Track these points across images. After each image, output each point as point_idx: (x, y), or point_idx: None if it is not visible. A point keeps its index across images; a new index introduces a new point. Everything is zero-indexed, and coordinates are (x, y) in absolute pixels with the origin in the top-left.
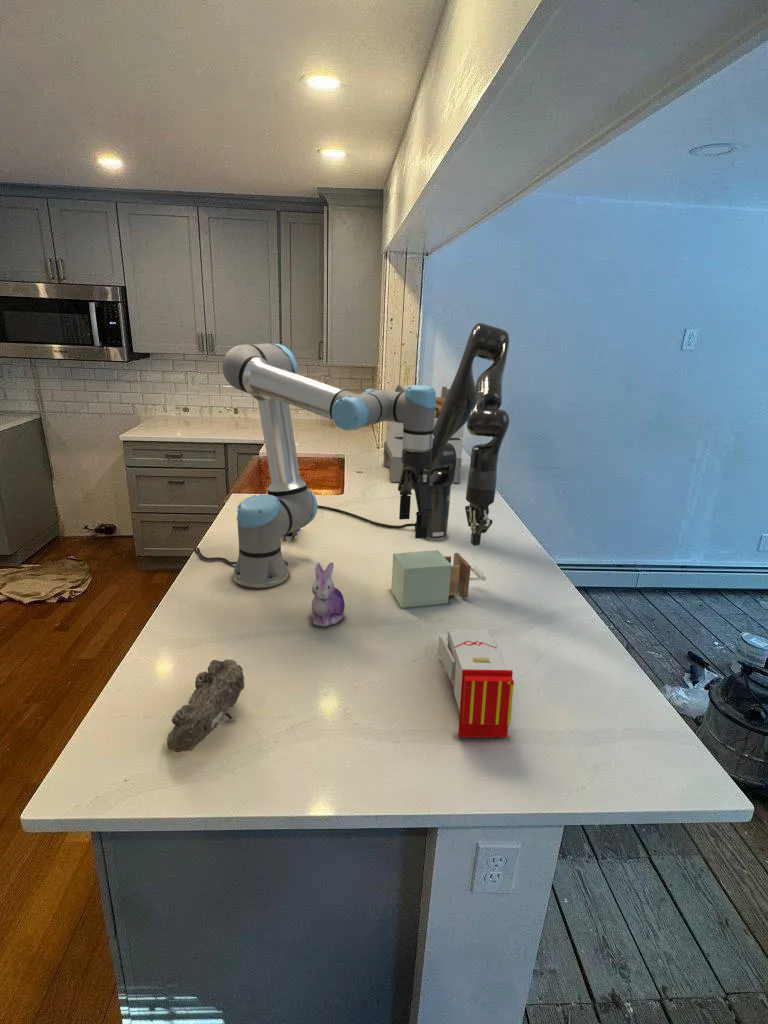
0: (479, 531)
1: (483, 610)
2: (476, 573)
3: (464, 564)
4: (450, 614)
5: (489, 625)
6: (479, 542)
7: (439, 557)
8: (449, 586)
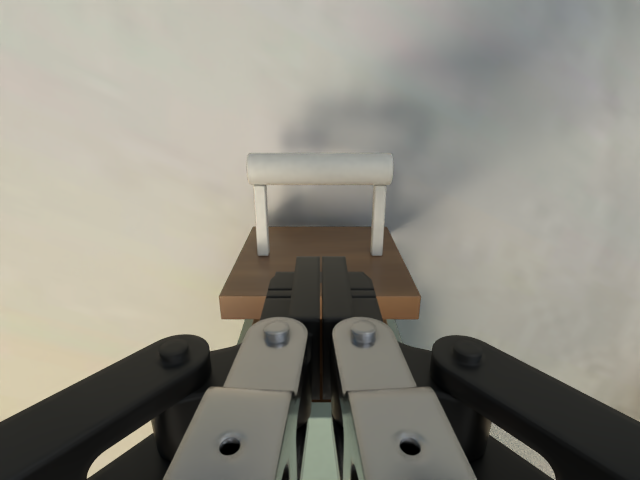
0: (509, 459)
1: (477, 192)
2: (329, 184)
3: (384, 318)
4: (461, 315)
5: (580, 218)
6: (371, 286)
7: (315, 440)
8: (400, 338)
